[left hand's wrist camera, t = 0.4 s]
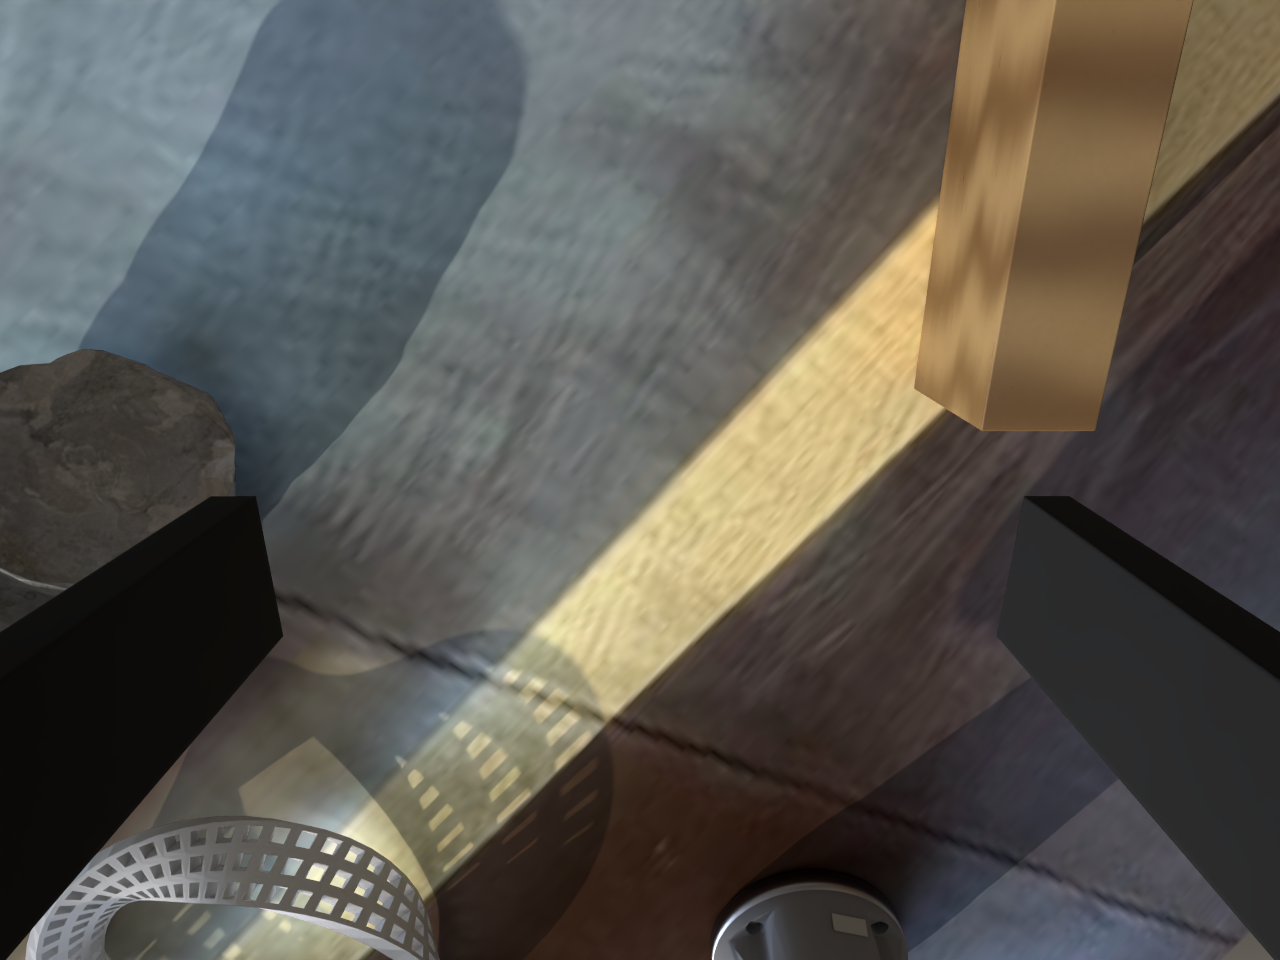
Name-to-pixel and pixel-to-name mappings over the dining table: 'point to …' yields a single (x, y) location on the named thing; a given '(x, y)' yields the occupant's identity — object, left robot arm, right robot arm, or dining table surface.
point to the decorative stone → (97, 467)
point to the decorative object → (172, 871)
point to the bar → (1044, 204)
